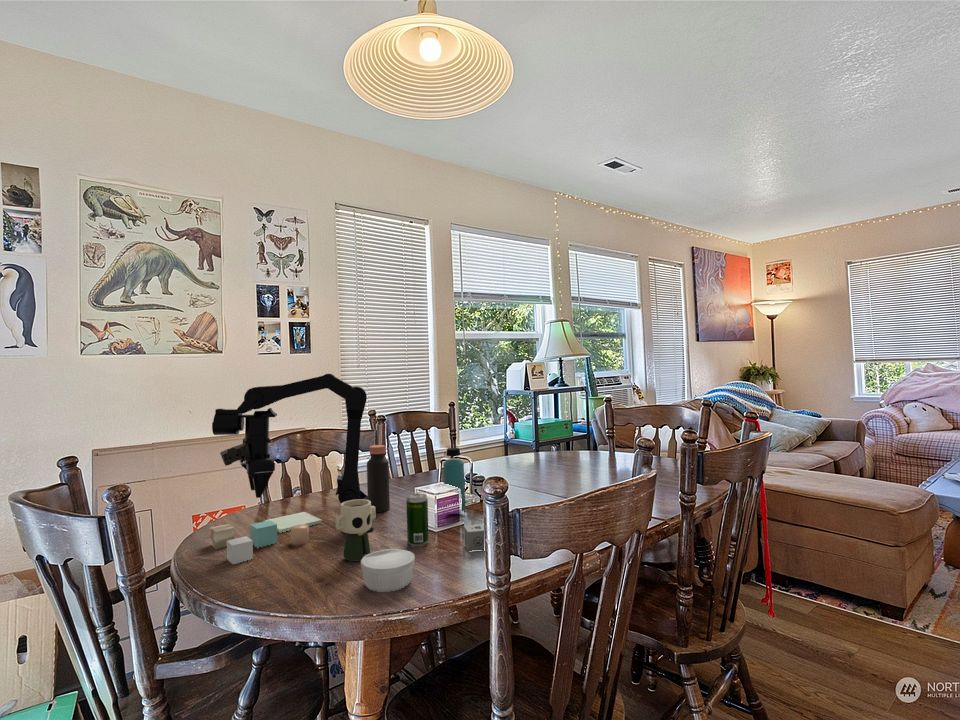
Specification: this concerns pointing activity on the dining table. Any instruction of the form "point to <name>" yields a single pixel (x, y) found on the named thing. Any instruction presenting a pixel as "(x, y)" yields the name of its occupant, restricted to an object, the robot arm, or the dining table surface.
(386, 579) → the ramekin
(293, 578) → the dining table surface
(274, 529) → the teal block
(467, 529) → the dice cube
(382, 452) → the dark water bottle
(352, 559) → the character mug
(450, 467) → the beverage bottle
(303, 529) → the terracotta cylinder
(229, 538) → the birch block
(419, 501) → the beer can
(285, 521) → the sage pad
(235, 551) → the grey plastic block
